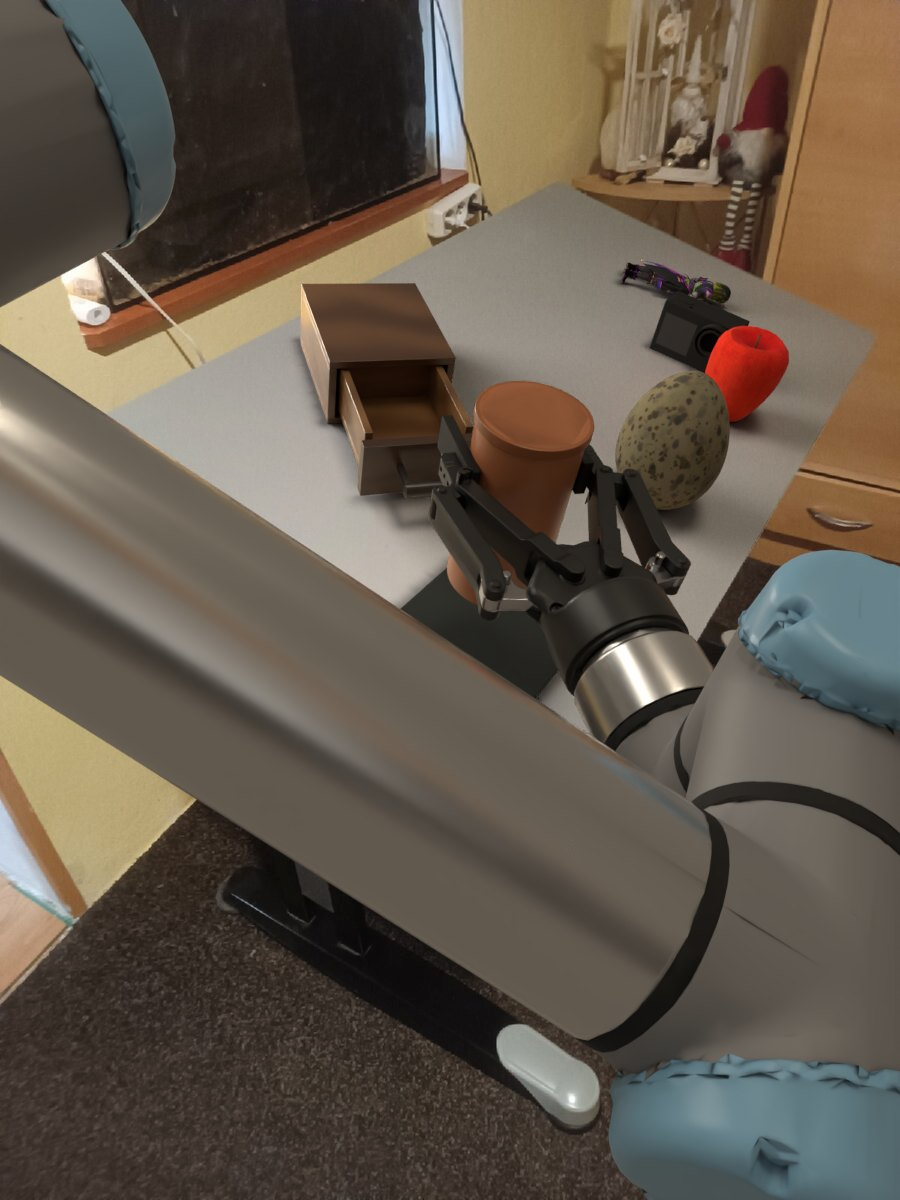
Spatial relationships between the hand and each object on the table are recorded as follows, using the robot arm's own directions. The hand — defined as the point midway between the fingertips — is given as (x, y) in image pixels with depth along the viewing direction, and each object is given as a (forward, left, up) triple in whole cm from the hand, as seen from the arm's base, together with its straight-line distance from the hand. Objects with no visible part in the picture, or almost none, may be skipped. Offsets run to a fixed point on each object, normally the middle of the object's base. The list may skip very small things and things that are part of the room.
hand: (498, 427), depth 61 cm
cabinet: (-15, +33, -19) cm, 41 cm away
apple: (+28, +41, -19) cm, 53 cm away
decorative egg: (+18, +21, -19) cm, 33 cm away
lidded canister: (+2, -4, -10) cm, 12 cm away
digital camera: (+24, +53, -19) cm, 61 cm away
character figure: (+23, +72, -19) cm, 78 cm away
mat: (+2, -4, -19) cm, 19 cm away
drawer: (-8, +18, -18) cm, 27 cm away
